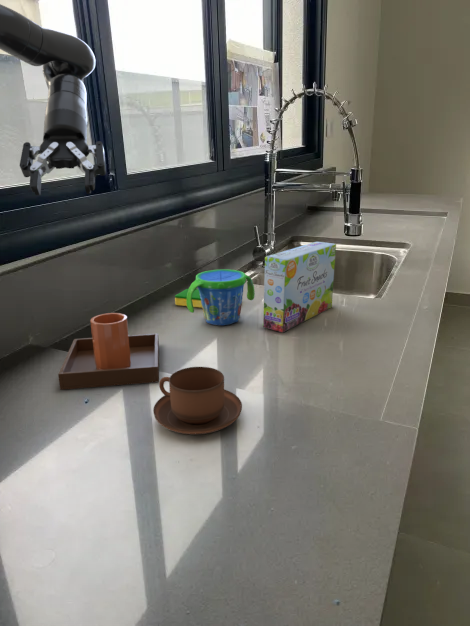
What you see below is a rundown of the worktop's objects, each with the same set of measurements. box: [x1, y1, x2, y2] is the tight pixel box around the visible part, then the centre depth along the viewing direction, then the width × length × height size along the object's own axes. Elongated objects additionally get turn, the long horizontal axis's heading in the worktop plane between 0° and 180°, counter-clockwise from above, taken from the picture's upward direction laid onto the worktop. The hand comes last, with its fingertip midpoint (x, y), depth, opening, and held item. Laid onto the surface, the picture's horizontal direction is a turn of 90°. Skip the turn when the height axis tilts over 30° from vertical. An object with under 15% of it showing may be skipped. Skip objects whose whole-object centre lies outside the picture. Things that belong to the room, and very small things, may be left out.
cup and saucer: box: [152, 366, 243, 435], centre depth 67 cm, size 12×12×6 cm
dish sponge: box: [174, 287, 203, 309], centre depth 118 cm, size 7×14×2 cm, turn 69°
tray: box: [57, 332, 160, 391], centre depth 85 cm, size 15×15×3 cm
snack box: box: [262, 241, 337, 333], centre depth 106 cm, size 21×6×15 cm, turn 143°
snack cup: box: [186, 268, 256, 326], centre depth 105 cm, size 16×10×10 cm
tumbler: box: [89, 312, 131, 370], centre depth 83 cm, size 6×6×8 cm
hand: (62, 191), depth 85 cm, fingers open, 8 cm apart
